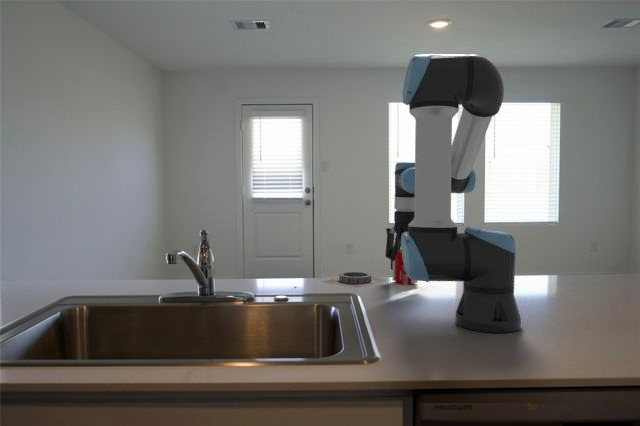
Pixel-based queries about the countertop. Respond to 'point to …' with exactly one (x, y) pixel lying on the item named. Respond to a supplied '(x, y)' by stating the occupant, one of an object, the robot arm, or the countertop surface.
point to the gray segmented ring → (355, 277)
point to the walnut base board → (336, 281)
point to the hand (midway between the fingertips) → (404, 281)
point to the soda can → (401, 271)
